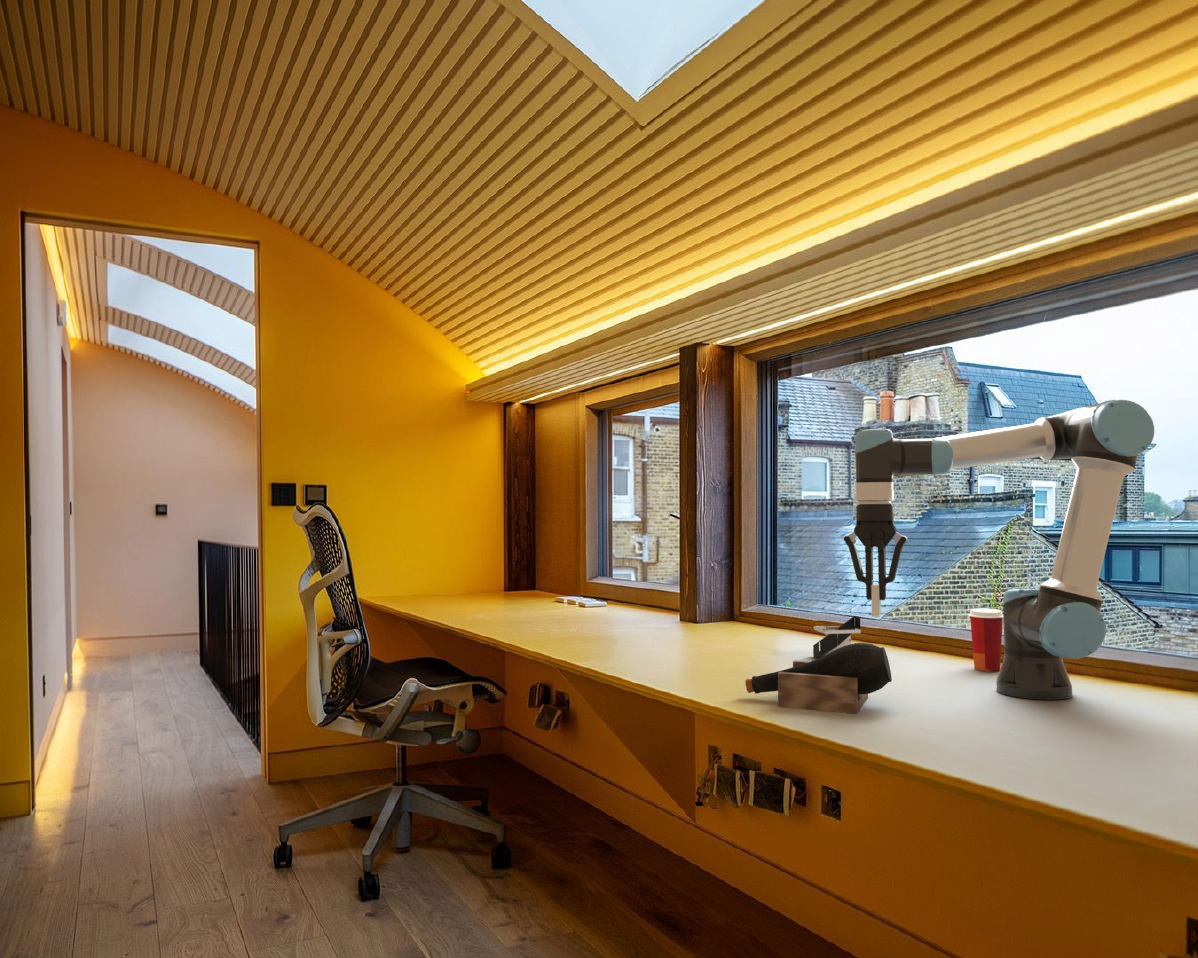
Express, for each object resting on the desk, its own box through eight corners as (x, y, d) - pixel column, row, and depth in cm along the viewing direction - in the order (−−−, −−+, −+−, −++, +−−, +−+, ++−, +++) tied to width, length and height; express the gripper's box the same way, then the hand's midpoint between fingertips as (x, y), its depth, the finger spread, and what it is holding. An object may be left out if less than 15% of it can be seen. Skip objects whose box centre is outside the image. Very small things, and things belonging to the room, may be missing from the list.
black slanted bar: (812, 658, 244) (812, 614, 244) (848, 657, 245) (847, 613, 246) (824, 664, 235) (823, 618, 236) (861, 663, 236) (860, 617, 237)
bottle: (878, 640, 179) (736, 664, 189) (891, 693, 177) (747, 714, 187) (883, 636, 188) (747, 659, 199) (895, 686, 186) (758, 706, 197)
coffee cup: (1007, 668, 225) (1006, 609, 225) (1002, 673, 218) (1001, 612, 218) (972, 665, 230) (971, 607, 230) (966, 670, 223) (965, 610, 223)
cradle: (868, 697, 193) (867, 665, 193) (856, 713, 178) (856, 678, 178) (794, 691, 199) (794, 660, 199) (778, 706, 185) (777, 673, 185)
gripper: (909, 502, 186) (911, 615, 185) (845, 503, 191) (847, 612, 191) (905, 502, 179) (907, 619, 178) (839, 503, 185) (841, 616, 184)
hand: (876, 615), depth 185 cm, fingers closed
